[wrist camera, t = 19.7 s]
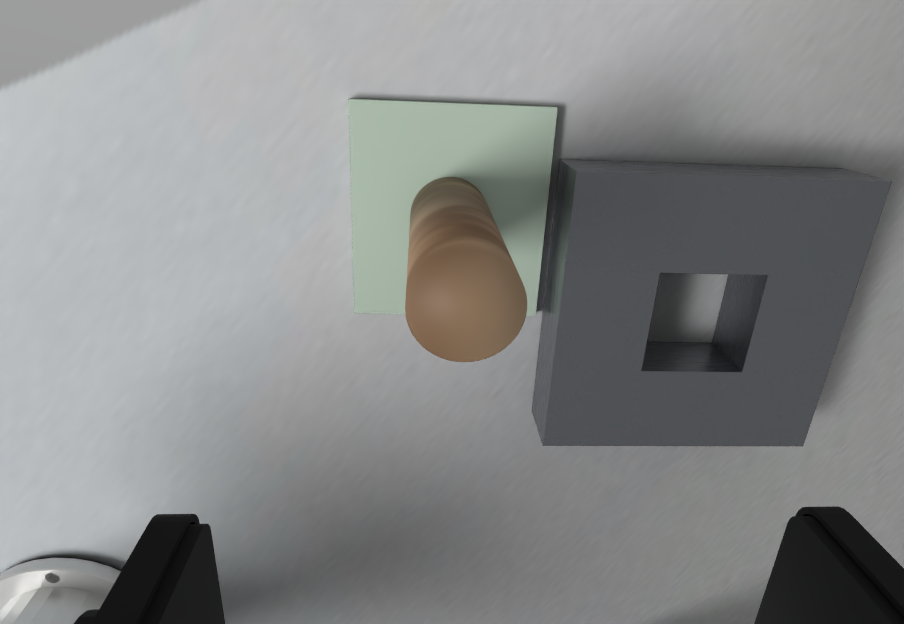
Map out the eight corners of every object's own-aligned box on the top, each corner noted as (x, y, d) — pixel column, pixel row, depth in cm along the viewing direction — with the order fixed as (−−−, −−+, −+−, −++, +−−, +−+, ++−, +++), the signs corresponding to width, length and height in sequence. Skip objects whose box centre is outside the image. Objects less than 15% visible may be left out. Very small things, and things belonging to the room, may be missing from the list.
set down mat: (534, 312, 33) (535, 316, 33) (355, 309, 32) (354, 313, 32) (555, 106, 29) (557, 107, 28) (349, 98, 28) (348, 99, 28)
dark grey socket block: (769, 412, 37) (802, 446, 33) (531, 410, 36) (543, 445, 33) (842, 168, 31) (891, 181, 28) (559, 159, 30) (576, 171, 27)
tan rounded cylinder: (490, 178, 30) (532, 250, 19) (485, 254, 31) (521, 362, 20) (410, 175, 29) (405, 247, 18) (409, 252, 31) (404, 361, 20)
